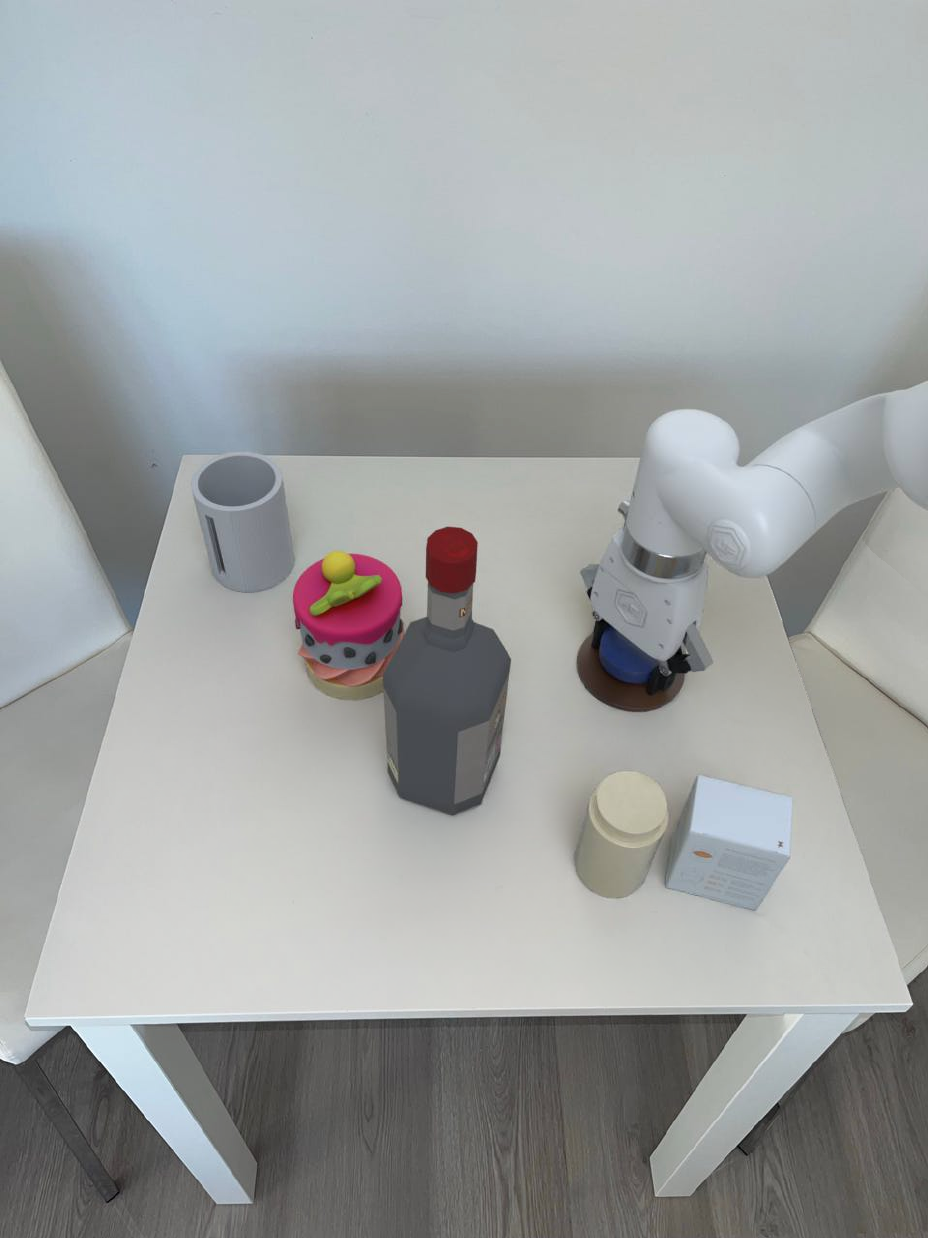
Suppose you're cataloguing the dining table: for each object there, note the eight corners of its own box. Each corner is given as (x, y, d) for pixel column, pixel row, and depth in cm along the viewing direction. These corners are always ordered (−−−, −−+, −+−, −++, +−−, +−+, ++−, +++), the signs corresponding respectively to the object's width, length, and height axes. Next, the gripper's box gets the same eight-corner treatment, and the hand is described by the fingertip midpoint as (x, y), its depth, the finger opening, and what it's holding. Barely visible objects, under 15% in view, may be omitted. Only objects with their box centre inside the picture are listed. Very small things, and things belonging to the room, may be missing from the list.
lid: (583, 652, 95) (585, 641, 94) (629, 617, 98) (632, 606, 97) (635, 695, 92) (638, 684, 90) (681, 658, 95) (685, 647, 93)
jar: (652, 843, 84) (678, 779, 75) (639, 908, 80) (665, 848, 71) (583, 822, 85) (600, 757, 76) (566, 885, 81) (583, 824, 72)
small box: (760, 855, 83) (796, 796, 75) (756, 913, 80) (793, 858, 72) (671, 832, 84) (697, 771, 76) (662, 888, 81) (689, 830, 73)
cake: (281, 657, 96) (262, 555, 84) (362, 606, 101) (354, 503, 89) (344, 721, 91) (332, 622, 80) (426, 665, 96) (426, 564, 84)
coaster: (691, 643, 99) (693, 640, 98) (672, 725, 92) (674, 721, 92) (590, 616, 101) (591, 612, 100) (565, 694, 94) (565, 690, 94)
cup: (302, 537, 107) (291, 455, 98) (283, 596, 101) (270, 515, 92) (224, 529, 107) (205, 447, 98) (201, 587, 102) (179, 506, 92)
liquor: (505, 746, 90) (533, 519, 67) (473, 827, 84) (493, 609, 61) (416, 718, 92) (415, 487, 69) (379, 795, 86) (365, 571, 63)
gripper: (565, 507, 85) (545, 631, 98) (715, 620, 77) (671, 738, 90) (621, 472, 88) (594, 597, 102) (770, 577, 80) (719, 698, 94)
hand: (630, 663), depth 96 cm, fingers closed on lid, 7 cm apart
